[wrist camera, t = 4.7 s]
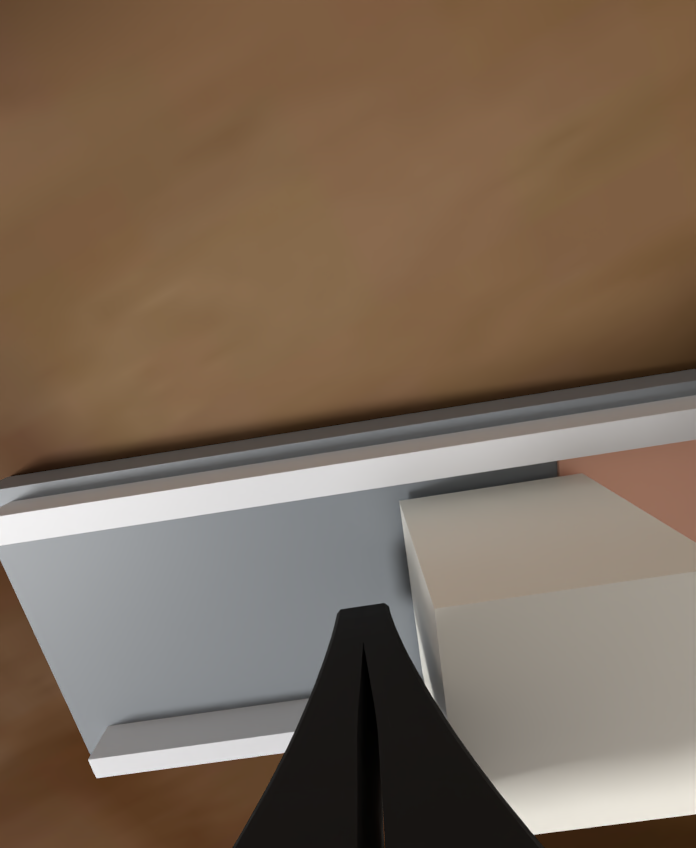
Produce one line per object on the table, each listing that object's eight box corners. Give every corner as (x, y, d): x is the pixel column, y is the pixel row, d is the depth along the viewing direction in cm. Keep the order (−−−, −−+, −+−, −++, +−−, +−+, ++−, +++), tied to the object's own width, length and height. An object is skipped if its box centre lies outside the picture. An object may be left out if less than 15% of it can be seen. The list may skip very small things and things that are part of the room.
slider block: (581, 649, 11) (702, 813, 8) (422, 671, 12) (461, 843, 8) (582, 473, 10) (733, 565, 6) (399, 500, 10) (434, 609, 6)
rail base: (758, 630, 13) (941, 764, 9) (112, 719, 14) (16, 882, 10) (801, 351, 11) (1082, 367, 7) (8, 476, 11) (-179, 560, 7)
